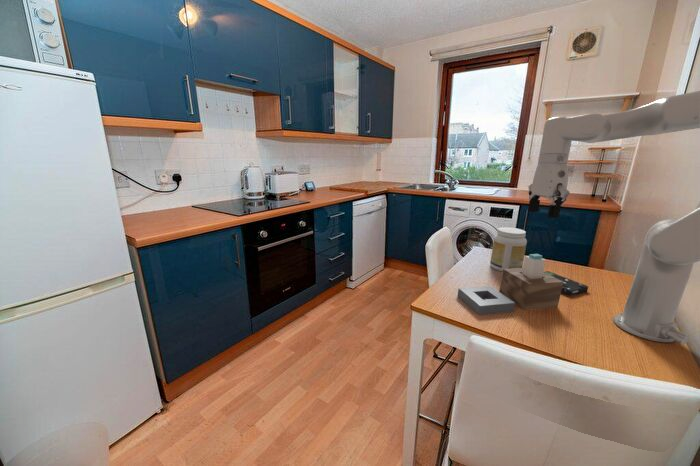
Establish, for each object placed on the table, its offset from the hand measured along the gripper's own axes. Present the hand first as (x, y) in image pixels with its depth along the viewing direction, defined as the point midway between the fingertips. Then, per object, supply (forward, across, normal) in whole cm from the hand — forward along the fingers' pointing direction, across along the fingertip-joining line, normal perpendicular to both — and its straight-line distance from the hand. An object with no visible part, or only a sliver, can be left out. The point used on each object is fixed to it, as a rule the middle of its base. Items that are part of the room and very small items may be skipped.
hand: (542, 214), depth 93 cm
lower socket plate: (+28, -7, +18) cm, 34 cm away
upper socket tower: (+28, -4, +3) cm, 29 cm away
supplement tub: (+29, +24, -5) cm, 37 cm away
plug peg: (+24, -4, +2) cm, 24 cm away
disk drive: (+29, +7, -16) cm, 34 cm away
